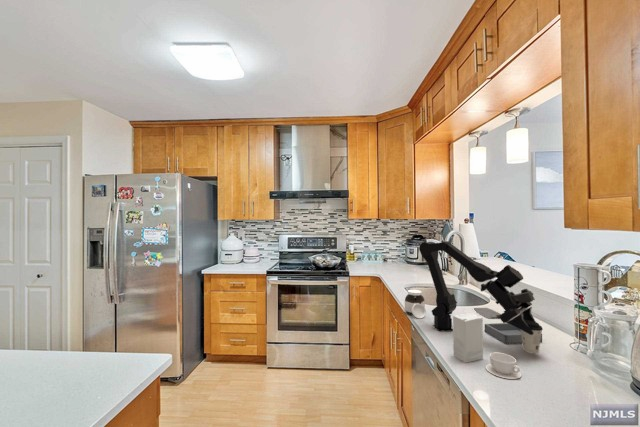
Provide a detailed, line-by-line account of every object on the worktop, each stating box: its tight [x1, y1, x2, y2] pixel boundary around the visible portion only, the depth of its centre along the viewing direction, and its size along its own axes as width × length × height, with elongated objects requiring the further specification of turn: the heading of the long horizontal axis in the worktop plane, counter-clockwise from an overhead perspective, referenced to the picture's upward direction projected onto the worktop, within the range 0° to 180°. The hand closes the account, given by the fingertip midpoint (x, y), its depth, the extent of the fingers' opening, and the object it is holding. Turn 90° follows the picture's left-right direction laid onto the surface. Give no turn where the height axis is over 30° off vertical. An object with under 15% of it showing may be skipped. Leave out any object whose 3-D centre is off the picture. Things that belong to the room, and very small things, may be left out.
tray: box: [484, 322, 543, 345], centre depth 123 cm, size 16×13×4 cm
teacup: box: [484, 351, 522, 380], centre depth 96 cm, size 10×10×5 cm
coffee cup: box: [521, 320, 543, 354], centre depth 107 cm, size 7×7×10 cm
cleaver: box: [473, 307, 510, 323], centre depth 147 cm, size 29×10×2 cm, turn 3°
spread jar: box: [404, 289, 427, 319], centre depth 151 cm, size 12×11×12 cm
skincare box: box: [452, 312, 484, 363], centre depth 105 cm, size 8×6×15 cm
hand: (535, 331), depth 106 cm, fingers closed on coffee cup, 7 cm apart
